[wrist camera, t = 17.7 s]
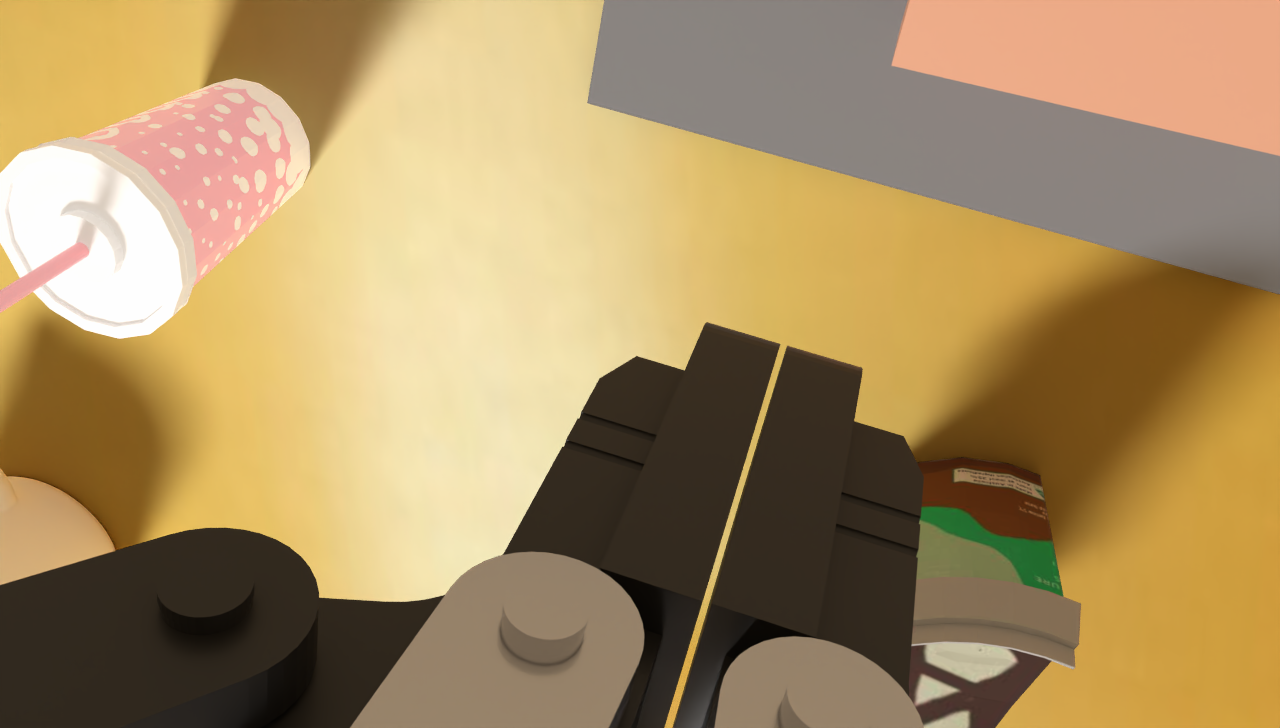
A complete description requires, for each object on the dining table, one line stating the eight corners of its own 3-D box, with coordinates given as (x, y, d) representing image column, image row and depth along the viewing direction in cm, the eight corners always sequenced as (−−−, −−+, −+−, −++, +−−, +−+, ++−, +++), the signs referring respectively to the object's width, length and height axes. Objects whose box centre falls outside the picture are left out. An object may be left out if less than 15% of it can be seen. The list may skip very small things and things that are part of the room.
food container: (897, 367, 38) (874, 557, 30) (1063, 444, 38) (1086, 655, 30) (754, 601, 45) (703, 807, 37) (895, 666, 45) (875, 888, 37)
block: (891, 65, 28) (1390, 181, 27) (945, -125, 26) (1497, -10, 24) (901, 20, 32) (1340, 120, 31) (949, -150, 30) (1429, -51, 28)
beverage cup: (309, 55, 38) (14, 220, 26) (346, 224, 41) (97, 438, 30) (153, 56, 40) (-190, 213, 28) (200, 219, 43) (-92, 420, 31)
